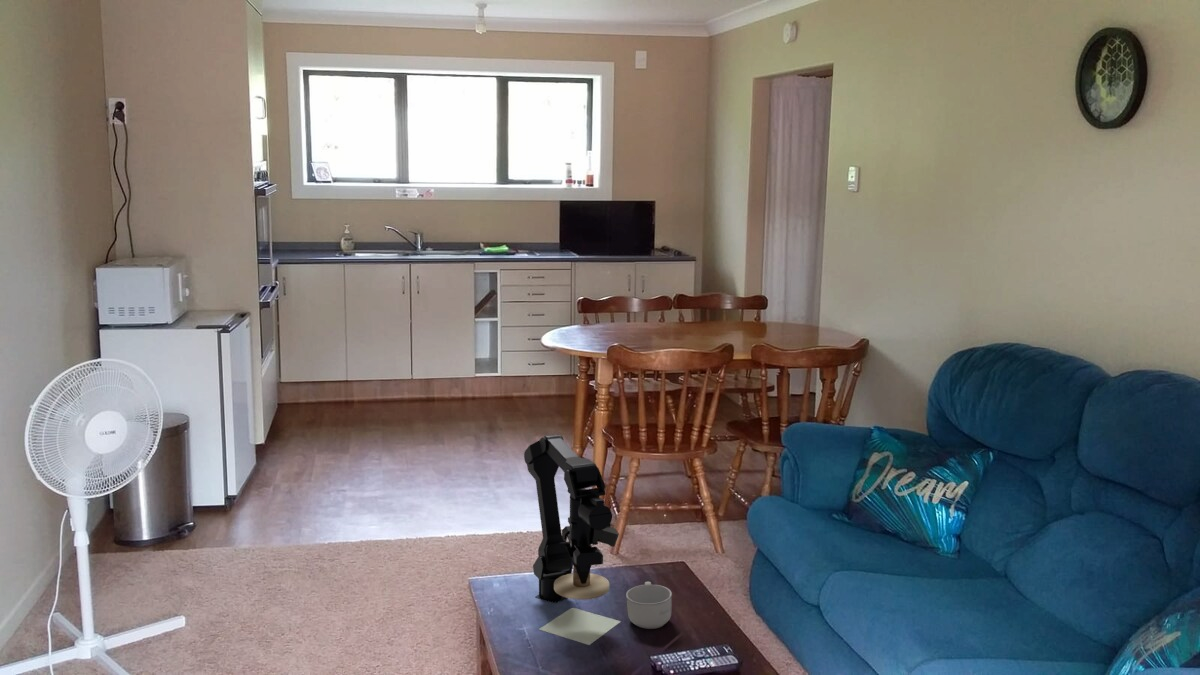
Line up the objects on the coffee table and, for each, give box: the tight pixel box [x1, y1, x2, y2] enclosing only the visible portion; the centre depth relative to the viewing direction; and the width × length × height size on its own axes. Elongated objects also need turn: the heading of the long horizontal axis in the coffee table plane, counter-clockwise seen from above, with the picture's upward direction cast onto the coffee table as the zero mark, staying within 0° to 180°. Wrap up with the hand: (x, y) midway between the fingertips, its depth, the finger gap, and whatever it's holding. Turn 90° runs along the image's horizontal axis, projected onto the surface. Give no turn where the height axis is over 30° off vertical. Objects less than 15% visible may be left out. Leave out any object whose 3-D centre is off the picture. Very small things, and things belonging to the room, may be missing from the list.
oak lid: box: [554, 567, 610, 601], centre depth 229 cm, size 13×13×4 cm
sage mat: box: [538, 607, 622, 646], centre depth 231 cm, size 14×14×1 cm
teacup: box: [625, 581, 673, 630], centre depth 234 cm, size 14×11×8 cm
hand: (581, 579), depth 229 cm, fingers closed on oak lid, 4 cm apart
